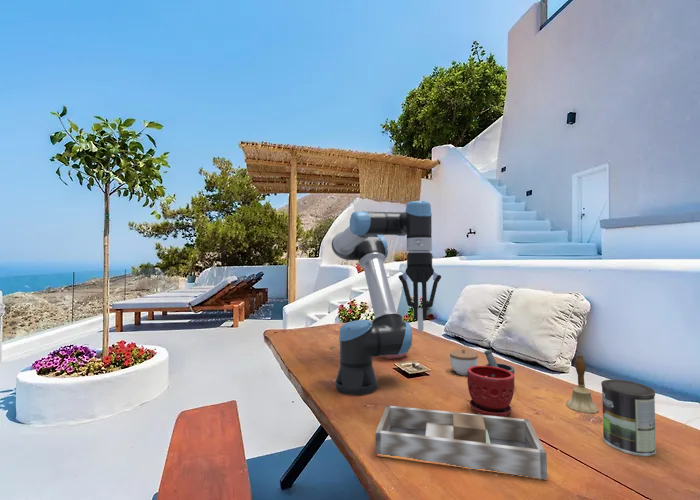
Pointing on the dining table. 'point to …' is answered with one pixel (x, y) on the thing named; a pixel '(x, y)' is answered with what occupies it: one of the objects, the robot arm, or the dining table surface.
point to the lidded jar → (463, 360)
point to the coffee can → (629, 417)
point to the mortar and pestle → (494, 364)
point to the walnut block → (469, 428)
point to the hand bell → (581, 391)
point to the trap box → (461, 441)
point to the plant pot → (490, 390)
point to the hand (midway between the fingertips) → (420, 329)
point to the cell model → (394, 356)
